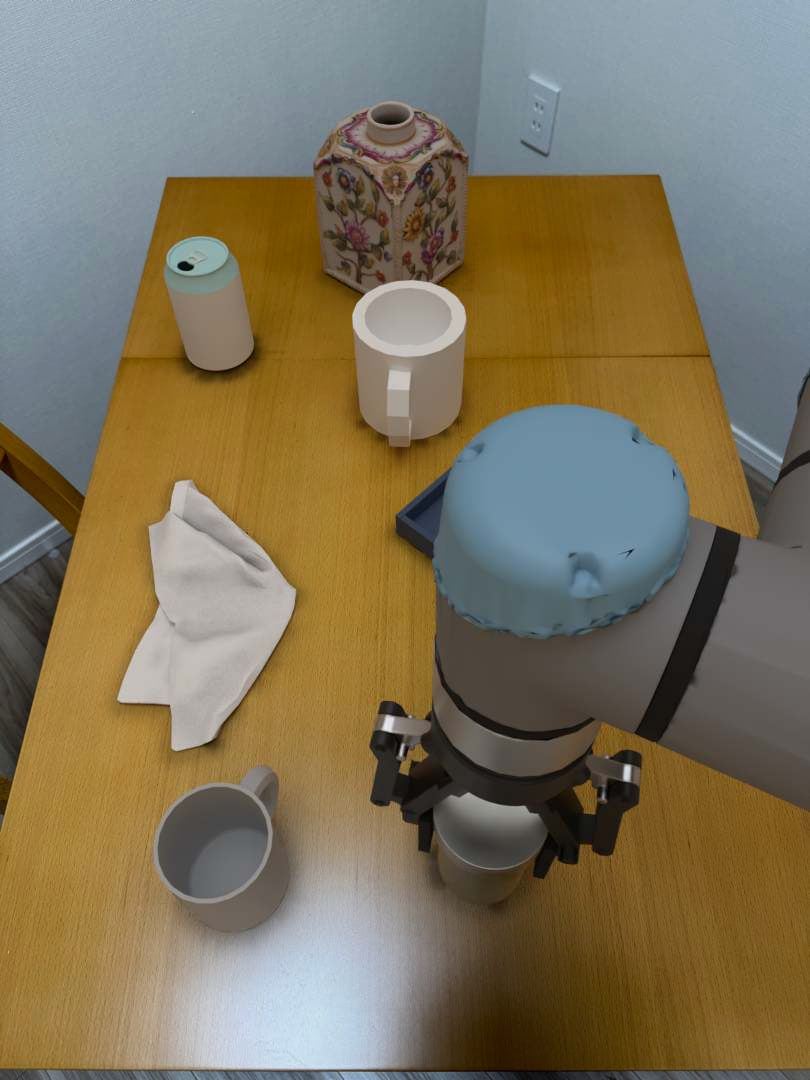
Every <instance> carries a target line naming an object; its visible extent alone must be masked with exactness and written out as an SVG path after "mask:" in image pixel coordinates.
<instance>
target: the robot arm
mask: <svg viewBox="0 0 810 1080" xmlns="http://www.w3.org/2000/svg"><path fill="white" fill-rule="evenodd" d="M806 372H807V373H806V374H805V376H804V377H803V378H802V381H801V387H800V389H799V391H798V393H797V398H796V400H797V403H796V404H797V405H796V410H797V411H796V413H795V418H794V421H793V424H792V429H791V431H790V434H789V438H788V440H787V441H788V442H787V445H786V449H785V452H784V454H783V455H784V456H783V458H782V462H781V466H780V469H779V472H778V476H777V478H776V480H775V482H774V483H773V487H772V491H771V493H770V496H769V498H768V502H767V504H766V506H765V511H764V514H763V517H762V520H761V523H760V526H759V529H758V531H757V535H756V538H752V537H749V536H746V535H742V534H741V533H740V532H737V531H734V530H731V529H729V528H725V527H723V526H720V525H717V524H715V523H713V522H711V521H707V520H704V519H702V518H698V517H696V516H693V515H690V513H691V512H690V511H691V501H690V494H689V489H688V487H687V482H686V480H685V477H684V474H683V473H682V471H681V469H680V467H679V465H678V462H677V460H675V458H674V457H673V456H672V455H671V453H670V451H669V450H667V448H665V447H664V446H662V445H660V444H659V445H657V444H656V443H655V442H653V441H652V440H651V439H650V438H649V437H647V435H645V434H644V433H643V432H642V430H640V427H639V426H638V424H637V423H635V422H634V421H631V420H629V419H627V418H625V417H623V416H621V415H618V414H616V413H614V412H611V411H607V410H604V409H600V408H596V407H594V406H593V407H592V406H586V405H581V404H567V403H566V404H561V403H560V404H550V405H549V404H547V405H546V404H545V405H538V406H532V407H527V408H524V409H521V410H518V411H514V412H512V413H510V414H507V415H505V416H503V417H501V418H498V419H497V420H495V421H493V422H492V423H490V424H488V425H486V426H485V427H484V428H483V429H481V430H480V431H479V432H478V433H477V434H476V435H474V436H473V437H472V438H471V439H470V441H468V443H467V444H466V445H465V446H464V447H463V448H462V450H461V451H460V452H459V453H458V454H457V455H456V457H455V459H454V460H453V462H452V465H451V467H452V468H451V467H450V468H451V471H450V473H449V476H448V479H447V482H446V486H445V491H444V498H443V505H442V512H441V520H440V527H439V534H438V536H437V537H436V539H435V542H434V550H433V553H434V556H435V557H434V558H433V559H431V568H432V572H433V580H434V583H435V634H434V639H433V650H432V653H433V654H432V674H431V675H432V677H431V710H429V711H428V712H427V713H426V715H425V717H424V718H423V719H422V718H417V717H416V716H415V715H414V714H412V713H406V710H405V709H404V708H403V706H402V705H401V704H400V703H398V702H396V701H393V700H382V701H381V702H380V703H379V707H378V710H377V715H376V719H375V723H374V726H373V730H372V734H371V736H370V741H369V745H368V747H369V749H370V751H371V752H372V754H373V755H374V757H375V759H376V760H377V764H376V768H375V769H376V770H375V774H374V780H373V783H372V788H371V791H370V797H369V801H370V803H372V804H373V806H374V805H375V806H377V807H380V808H381V807H389V806H390V805H391V802H393V803H395V804H397V805H399V806H400V807H399V812H400V813H401V820H402V821H404V822H405V823H406V824H410V825H415V826H417V851H419V852H424V853H426V854H430V852H431V847H432V842H433V836H434V833H435V832H434V829H433V821H432V814H433V806H435V805H436V804H438V803H440V802H441V801H443V800H444V799H446V798H447V797H449V796H451V795H453V796H456V797H459V798H460V797H462V796H463V795H465V794H467V793H468V792H469V793H471V794H472V795H474V796H476V797H478V798H480V799H482V800H485V801H488V802H490V803H494V804H498V805H504V806H525V807H526V808H527V810H528V811H529V813H533V814H538V815H539V817H540V818H541V820H542V821H543V823H544V825H545V826H546V828H547V829H548V831H549V833H548V836H547V838H546V841H545V843H544V845H543V847H542V849H541V851H540V853H539V854H538V856H537V857H536V858H535V859H534V864H533V871H532V877H533V878H535V879H540V880H546V877H547V875H548V872H550V871H549V870H550V869H551V866H552V864H553V863H554V860H555V858H556V857H557V859H556V860H557V861H558V862H559V863H561V864H565V865H569V866H577V865H578V864H579V859H580V858H579V857H580V851H581V850H580V849H581V846H585V845H586V846H591V852H592V853H594V854H596V855H598V856H601V857H610V856H613V855H614V852H615V848H616V844H617V840H618V836H619V831H620V828H621V824H622V819H623V815H624V814H625V813H626V812H628V811H630V810H632V809H633V808H635V807H637V806H638V805H639V804H640V797H641V795H640V794H641V781H642V779H641V778H642V766H643V754H642V753H640V752H639V751H636V750H633V749H621V750H619V751H617V752H616V753H614V754H613V755H611V754H607V753H604V754H602V755H598V754H595V753H594V749H593V746H594V743H595V741H596V739H597V736H598V735H599V733H600V731H601V729H602V725H603V724H606V725H609V726H611V727H612V728H615V729H618V730H620V731H622V732H625V733H628V734H630V735H636V736H638V737H639V738H642V739H644V740H646V741H649V742H651V743H655V744H656V745H657V746H660V747H662V748H664V749H667V750H669V751H671V752H674V753H676V754H678V755H680V756H683V757H685V758H687V759H689V760H691V761H694V762H695V763H698V764H700V765H703V766H705V767H707V768H709V769H712V770H713V771H716V772H719V773H720V774H723V775H725V776H728V777H730V778H732V779H734V780H737V781H739V782H741V783H743V784H746V785H747V786H749V787H752V788H754V789H757V790H759V791H761V792H764V793H766V794H768V795H770V796H773V797H774V798H777V799H780V800H781V801H784V802H786V803H789V804H791V805H793V806H795V807H798V808H800V809H802V810H803V811H806V812H809V813H810V367H809V368H808V370H807V371H806ZM417 745H420V747H421V748H422V750H423V751H424V753H426V754H427V756H426V757H425V758H423V759H422V760H421V761H418V760H414V759H413V758H412V759H411V761H410V764H409V768H408V772H407V774H406V773H402V772H400V769H401V767H402V766H401V765H402V762H405V761H406V760H407V758H408V753H409V751H413V750H415V749H416V746H417ZM588 781H590V782H591V787H592V788H593V789H594V790H596V799H595V800H596V805H595V811H594V813H585V808H584V806H583V804H582V803H581V801H580V798H579V797H578V795H577V793H576V791H575V789H574V788H575V787H580V786H582V785H584V784H586V783H587V782H588Z"/></svg>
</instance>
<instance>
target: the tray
mask: <svg viewBox="0 0 810 1080" xmlns="http://www.w3.org/2000/svg"><path fill="white" fill-rule="evenodd" d="M451 468H452V466H450V467H449V468H448V469H447V470H446V471H445V472H443V473H442V474H441V475H440V476H439V477H438V478H436V479H435V480H434V481H433V482H432V483H431V484H430V485H428V486H427V487H426V488H425V489H424V490H423V491H422V492H420V493H419V494H418V495H417V496H416V497H414V499H412V500H411V501H410V502H408V504H407V505H405V506H404V507H403V508H402V509H400V511H398V512H397V513H396V514H395V533H396V534H397V535H399V536H400V537H401V538H402V539H404V540H405V541H407V542H408V543H409V544H411V546H413V547H415V548H416V549H417V550H418V551H420V552H421V553H422V554H423V555H425V556H426V557H428V558H429V559H431V560H432V559H433V558H434V557H435V556H434V553H433V550H434V542H435V539H436V537H437V536H438V534H439V527H440V520H441V512H442V505H443V498H444V491H445V486H446V482H447V479H448V476H449V473H450V471H451Z"/></svg>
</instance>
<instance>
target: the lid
mask: <svg viewBox="0 0 810 1080" xmlns="http://www.w3.org/2000/svg"><path fill="white" fill-rule="evenodd" d="M432 821H433V829H434V832H433V833H434V836H435V839H436V841H437V843H438V844H439V845H440V847H441V849H442V850H443V852H444V853H445V854H446V856H447V857H448V858H449V859H450V860H451V861H452V862H453V863H454V864H456V865H457V866H458V867H460V868H461V869H463V870H465V871H467V872H469V873H471V874H474V875H477V876H480V877H486V878H500V877H506V876H510V875H513V874H515V873H517V872H519V871H521V870H523V869H524V868H525V869H526V868H527V867H528V866H530V865H531V864H532V863H533V862H535V858H536V857H537V856H538V854H539V853H540V851H541V849H542V847H543V845H544V843H545V841H546V838H547V836H548V833H549V831H548V829H547V828H546V826H545V825H544V823H543V821H542V820H541V818H540V817H539V815H538V814H533V813H529V811H528V810H527V808H526V807H525V806H504V805H498V804H494V803H490V802H488V801H485V800H482V799H480V798H478V797H476V796H474V795H472V794H471V793H469V792H468V793H467V794H465V795H463V796H462V797H460V798H459V797H456V796H453V795H451V796H449V797H447V798H446V799H444V800H443V801H441V802H440V803H438V804H436V805H435V806H433V814H432Z"/></svg>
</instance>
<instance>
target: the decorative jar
mask: <svg viewBox="0 0 810 1080" xmlns="http://www.w3.org/2000/svg"><path fill="white" fill-rule="evenodd" d="M469 161H470V160H469V154H468V153H467V151H466V150H465V148H464V147H463V145H462V143H461V142H460V140H458V139H457V138H456V135H455V134H454V133H453V132H452V131H451V130H450V128H449V127H448V126H447V124H446V122H445V121H444V120H443V119H442V118H440V117H438V116H435V115H433V114H431V113H429V112H427V111H425V110H423V109H419V108H417V107H415V106H410V105H409V104H406V103H405V102H400V101H393V100H388V101H382V102H379V103H377V104H376V105H373V106H367V107H362V108H360V109H358V110H357V111H355V112H353V113H351V114H349V115H347V116H345V117H344V118H343V119H341V120H340V121H338V122H337V123H336V124H335V125H334V126H333V128H332V130H331V131H330V132H329V134H328V136H327V138H326V139H325V141H324V143H323V145H322V146H321V147H320V149H319V151H318V153H317V155H316V157H315V159H314V160H313V163H312V172H313V180H314V181H313V182H314V190H315V201H316V202H315V203H316V213H317V221H318V233H319V240H320V249H321V258H322V264H323V271H324V273H325V274H328V275H330V276H331V277H332V278H335V279H336V280H339V281H340V282H341V283H343V284H345V285H347V286H349V287H350V288H352V289H354V290H356V291H358V292H360V293H361V294H363V296H364V295H365V294H366V293H368V292H370V291H371V290H373V289H375V288H377V287H379V286H381V285H384V284H388V283H392V282H395V281H408V280H415V281H422V282H429V283H432V284H435V285H438V283H439V282H441V281H442V280H443V279H445V278H446V277H447V276H448V275H449V274H451V273H452V272H454V271H455V270H456V269H457V268H459V267H460V266H461V265H462V264H463V263H464V260H465V259H464V258H465V246H466V231H467V213H468V212H467V211H468V185H469V183H468V182H469V163H470V162H469Z"/></svg>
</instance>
